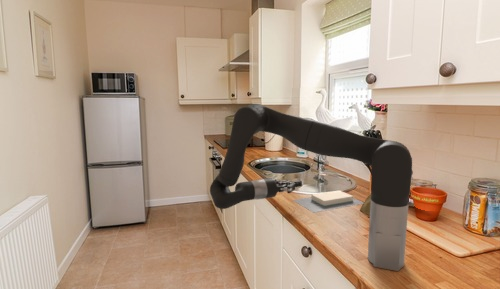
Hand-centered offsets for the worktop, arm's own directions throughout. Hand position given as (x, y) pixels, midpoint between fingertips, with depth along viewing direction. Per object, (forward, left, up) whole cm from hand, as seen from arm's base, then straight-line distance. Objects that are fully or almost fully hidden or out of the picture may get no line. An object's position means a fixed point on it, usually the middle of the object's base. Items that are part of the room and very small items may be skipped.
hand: (300, 183), depth 121 cm
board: (+10, -10, -11) cm, 18 cm away
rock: (+1, -28, -11) cm, 30 cm away
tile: (+6, -6, -9) cm, 12 cm away
